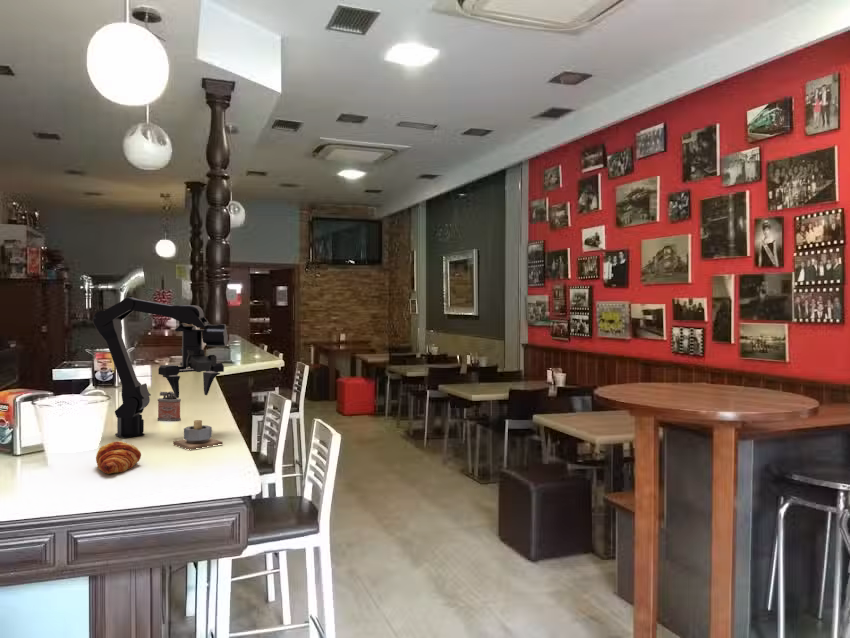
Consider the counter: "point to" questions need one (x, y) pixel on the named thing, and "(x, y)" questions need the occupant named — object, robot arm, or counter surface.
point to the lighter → (168, 407)
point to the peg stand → (197, 444)
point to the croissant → (117, 457)
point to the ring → (197, 433)
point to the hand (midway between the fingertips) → (191, 396)
